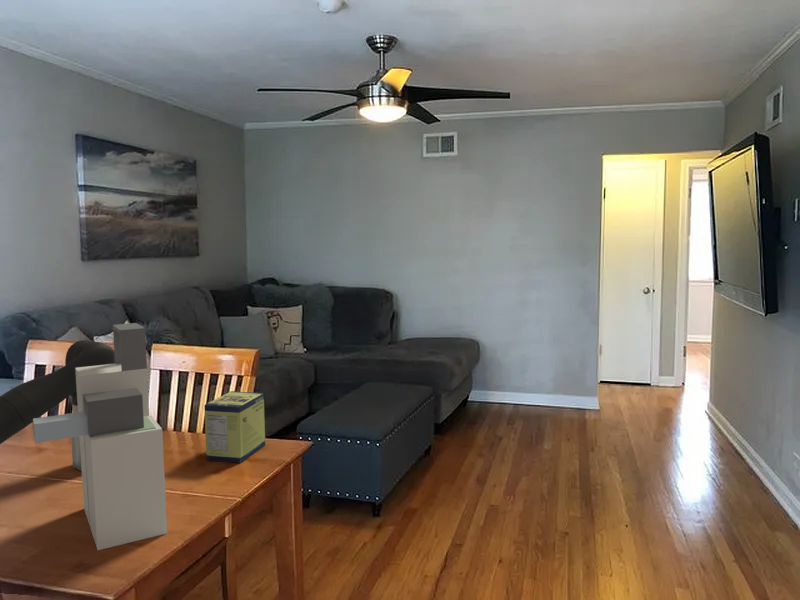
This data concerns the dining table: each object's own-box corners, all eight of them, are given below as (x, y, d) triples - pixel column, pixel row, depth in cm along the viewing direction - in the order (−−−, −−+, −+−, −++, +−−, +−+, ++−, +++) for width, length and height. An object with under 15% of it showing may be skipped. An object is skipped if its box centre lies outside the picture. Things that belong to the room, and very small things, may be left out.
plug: (35, 444, 119) (33, 409, 119) (33, 435, 125) (31, 400, 124) (144, 427, 130) (142, 394, 129) (137, 419, 135) (135, 387, 135)
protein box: (266, 444, 186) (264, 392, 185) (241, 463, 171) (239, 406, 169) (233, 442, 189) (231, 390, 187) (205, 461, 173) (203, 404, 172)
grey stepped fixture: (97, 550, 125) (85, 342, 120) (83, 508, 144) (72, 327, 139) (167, 533, 132) (157, 336, 127) (145, 495, 151) (136, 322, 146)
